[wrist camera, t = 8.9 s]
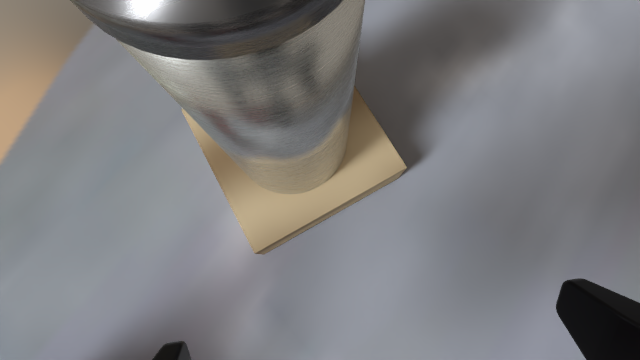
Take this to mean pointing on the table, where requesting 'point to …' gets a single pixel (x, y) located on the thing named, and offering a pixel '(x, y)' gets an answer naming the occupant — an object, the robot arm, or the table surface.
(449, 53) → the table surface
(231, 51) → the canister
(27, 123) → the table surface
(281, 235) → the oak board
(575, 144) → the table surface
